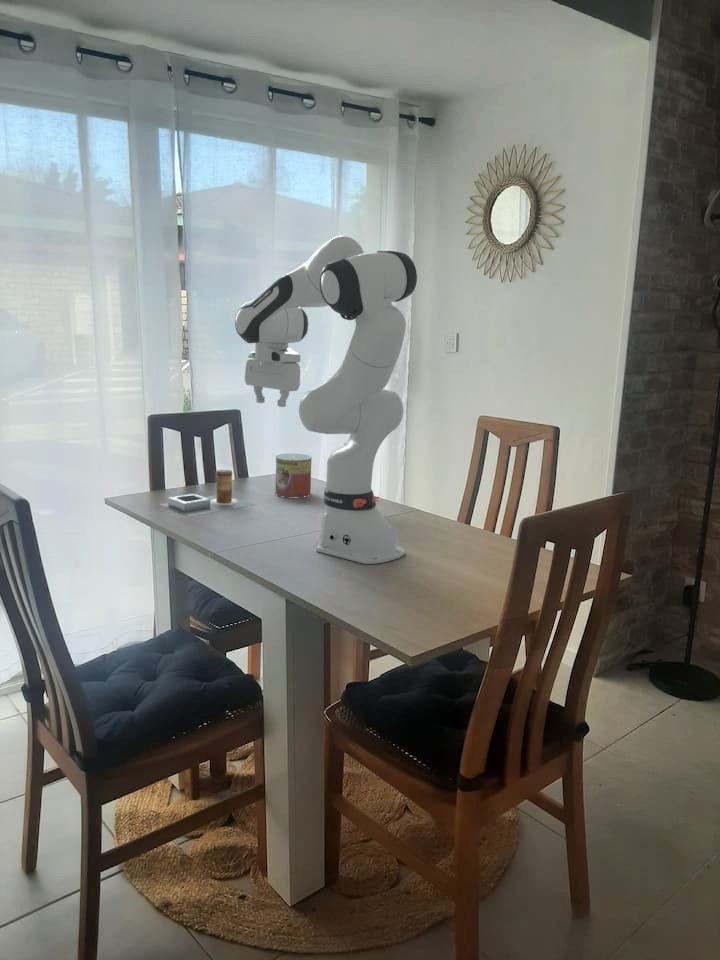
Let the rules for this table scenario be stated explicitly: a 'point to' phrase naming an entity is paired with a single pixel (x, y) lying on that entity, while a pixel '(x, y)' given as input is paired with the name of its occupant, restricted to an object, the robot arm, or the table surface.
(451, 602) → the table surface
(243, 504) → the base plate
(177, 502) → the collar
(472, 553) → the table surface
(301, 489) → the canned food
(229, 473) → the plug
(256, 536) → the table surface
